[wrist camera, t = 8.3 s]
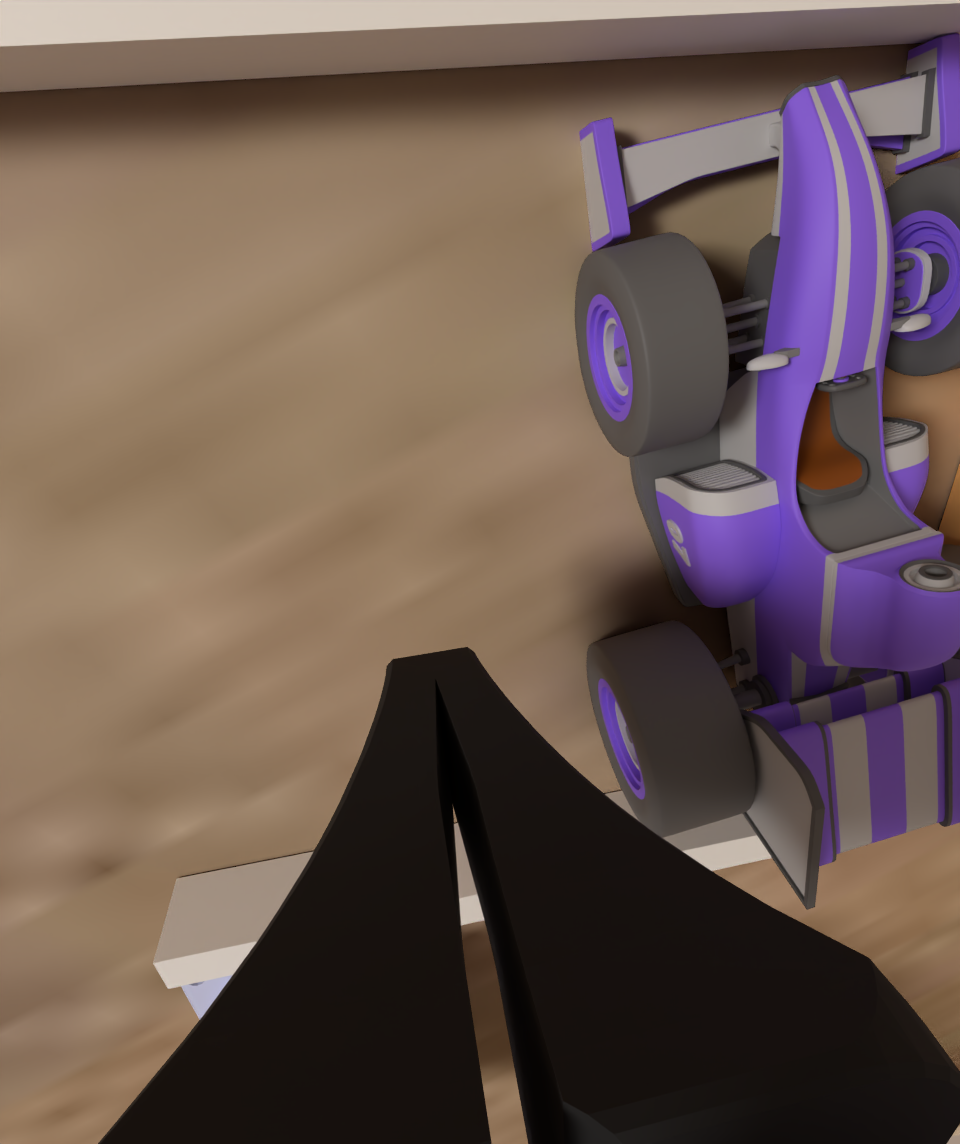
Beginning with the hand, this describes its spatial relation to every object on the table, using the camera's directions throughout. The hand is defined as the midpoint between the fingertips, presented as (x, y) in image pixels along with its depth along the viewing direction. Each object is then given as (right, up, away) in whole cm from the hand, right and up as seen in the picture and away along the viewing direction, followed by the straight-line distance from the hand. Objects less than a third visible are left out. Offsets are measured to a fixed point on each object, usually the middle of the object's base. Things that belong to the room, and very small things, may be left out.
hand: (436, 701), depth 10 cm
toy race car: (+7, +5, +5) cm, 10 cm away
